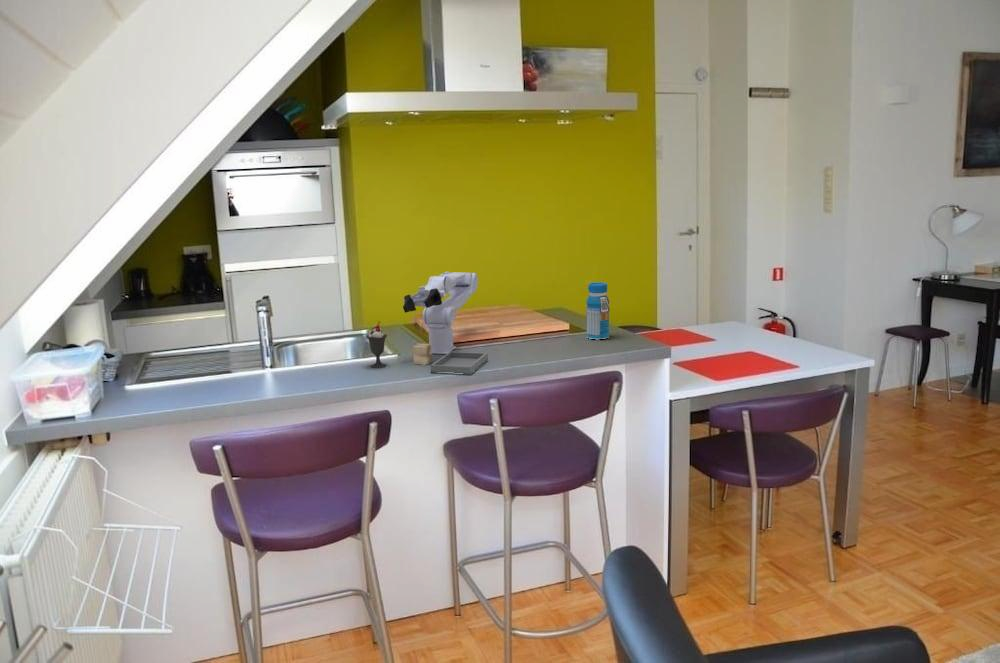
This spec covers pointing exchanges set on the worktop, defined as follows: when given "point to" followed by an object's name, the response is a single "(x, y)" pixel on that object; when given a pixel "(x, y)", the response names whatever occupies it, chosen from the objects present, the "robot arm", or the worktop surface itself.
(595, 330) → the beverage bottle
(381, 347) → the sundae
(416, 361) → the block
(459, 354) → the tray
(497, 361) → the worktop surface
